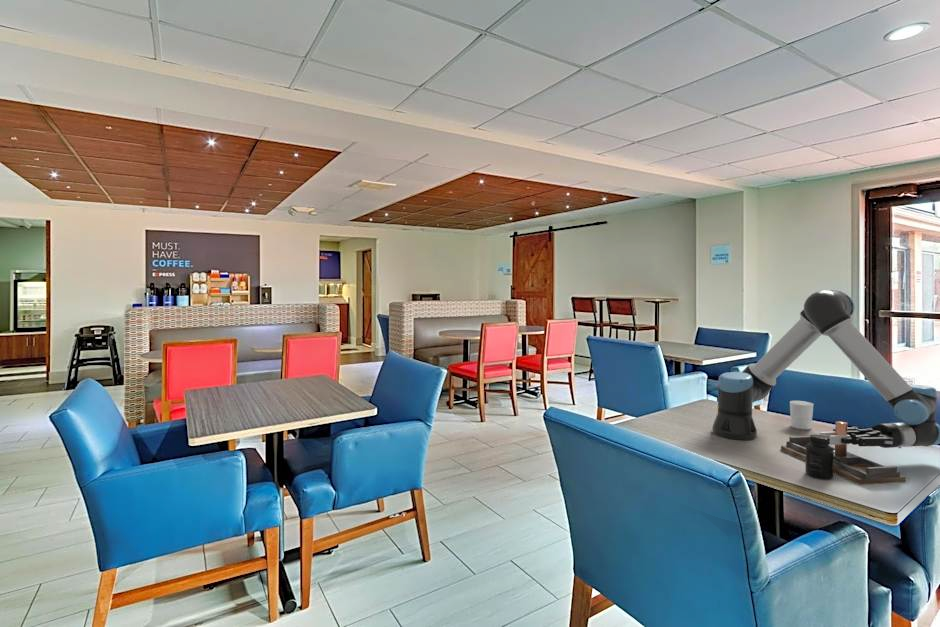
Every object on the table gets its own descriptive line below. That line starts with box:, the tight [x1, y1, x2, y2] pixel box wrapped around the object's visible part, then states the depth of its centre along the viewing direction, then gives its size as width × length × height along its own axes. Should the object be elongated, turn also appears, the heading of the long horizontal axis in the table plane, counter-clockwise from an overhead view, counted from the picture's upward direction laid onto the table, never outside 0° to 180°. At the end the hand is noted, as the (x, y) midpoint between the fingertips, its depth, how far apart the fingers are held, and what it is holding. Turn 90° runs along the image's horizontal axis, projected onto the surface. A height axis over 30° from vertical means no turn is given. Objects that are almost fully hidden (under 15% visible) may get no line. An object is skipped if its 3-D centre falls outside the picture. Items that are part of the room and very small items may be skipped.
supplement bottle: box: [804, 434, 834, 480], centre depth 145 cm, size 7×7×12 cm
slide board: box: [780, 435, 907, 485], centre depth 154 cm, size 30×15×4 cm, turn 6°
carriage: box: [833, 420, 861, 464], centre depth 153 cm, size 7×7×12 cm
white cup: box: [789, 400, 814, 430], centre depth 195 cm, size 8×8×10 cm
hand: (825, 438), depth 152 cm, fingers closed on carriage, 3 cm apart
